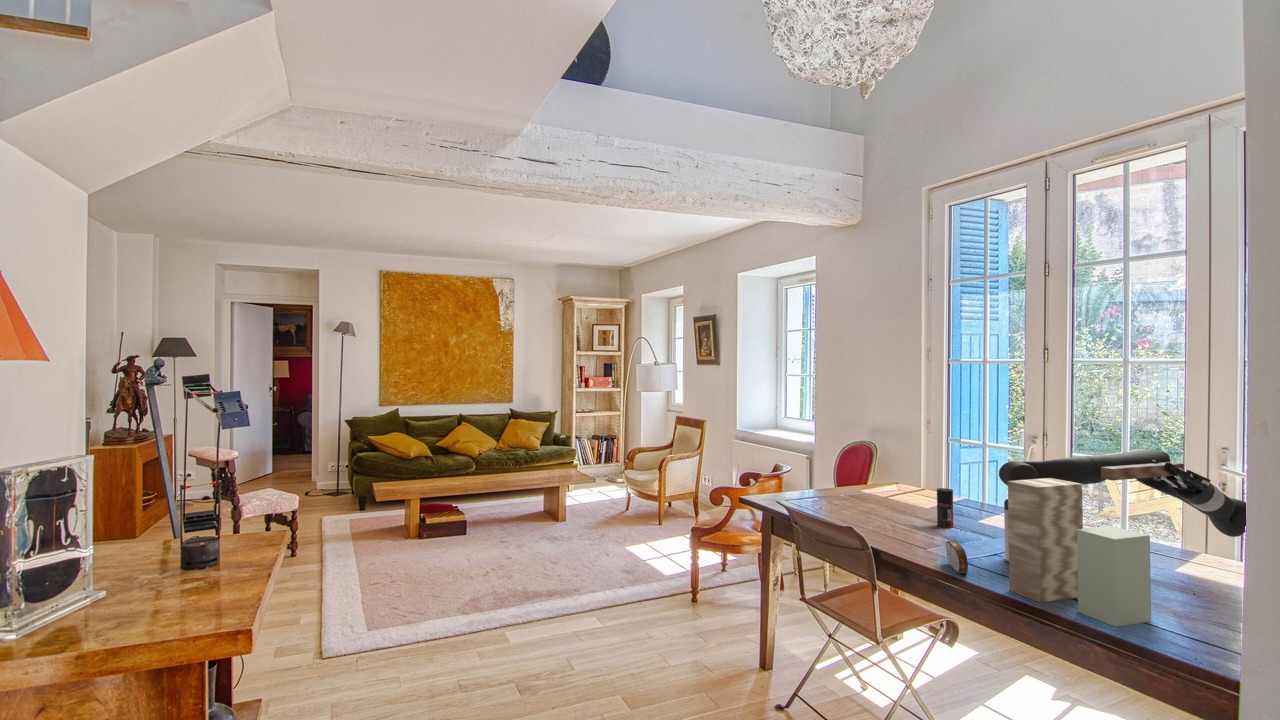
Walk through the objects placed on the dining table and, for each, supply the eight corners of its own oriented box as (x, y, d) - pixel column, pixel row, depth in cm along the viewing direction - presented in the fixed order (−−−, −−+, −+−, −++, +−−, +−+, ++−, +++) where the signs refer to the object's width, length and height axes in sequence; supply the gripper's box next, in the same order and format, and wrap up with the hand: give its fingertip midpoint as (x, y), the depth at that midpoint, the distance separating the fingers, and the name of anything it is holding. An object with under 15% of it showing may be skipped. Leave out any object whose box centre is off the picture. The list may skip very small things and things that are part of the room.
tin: (969, 577, 193) (968, 550, 194) (958, 577, 194) (957, 550, 194) (954, 562, 208) (954, 537, 208) (944, 562, 209) (944, 537, 209)
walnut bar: (1172, 472, 171) (1172, 462, 171) (1184, 474, 168) (1184, 463, 169) (1101, 478, 164) (1101, 467, 164) (1112, 480, 161) (1112, 468, 161)
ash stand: (1051, 584, 187) (1050, 477, 187) (1083, 596, 177) (1082, 483, 177) (1009, 590, 182) (1007, 481, 183) (1039, 602, 173) (1038, 487, 173)
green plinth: (1112, 606, 169) (1110, 525, 169) (1151, 621, 160) (1149, 535, 160) (1078, 611, 166) (1077, 529, 166) (1116, 626, 156) (1114, 539, 157)
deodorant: (947, 528, 251) (946, 491, 251) (934, 525, 256) (933, 489, 256) (956, 527, 253) (956, 490, 253) (943, 523, 259) (943, 487, 259)
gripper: (1175, 476, 179) (1137, 448, 175) (1233, 485, 166) (1193, 455, 162) (1166, 499, 178) (1127, 472, 174) (1224, 510, 165) (1183, 481, 161)
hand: (1159, 464), depth 168 cm, fingers closed on walnut bar, 3 cm apart
